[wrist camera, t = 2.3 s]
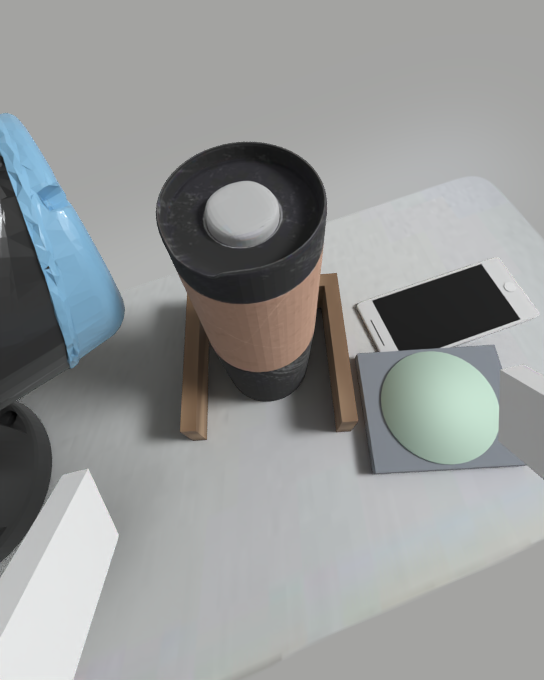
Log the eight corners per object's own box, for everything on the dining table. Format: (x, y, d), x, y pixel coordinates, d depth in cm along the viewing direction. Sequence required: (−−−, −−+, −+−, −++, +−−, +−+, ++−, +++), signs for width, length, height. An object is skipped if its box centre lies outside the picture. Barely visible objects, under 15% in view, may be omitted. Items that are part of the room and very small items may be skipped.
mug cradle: (192, 440, 32) (180, 431, 28) (197, 305, 37) (187, 283, 33) (350, 431, 31) (358, 421, 28) (332, 296, 37) (336, 273, 33)
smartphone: (536, 318, 35) (542, 314, 34) (387, 372, 34) (389, 368, 33) (493, 260, 38) (498, 255, 37) (354, 307, 37) (355, 303, 36)
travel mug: (295, 318, 36) (300, 123, 18) (320, 392, 33) (356, 247, 15) (219, 338, 35) (142, 159, 17) (236, 415, 32) (165, 296, 14)
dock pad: (372, 474, 30) (376, 472, 28) (355, 358, 34) (357, 352, 33) (524, 465, 29) (534, 463, 28) (487, 349, 34) (495, 343, 32)
